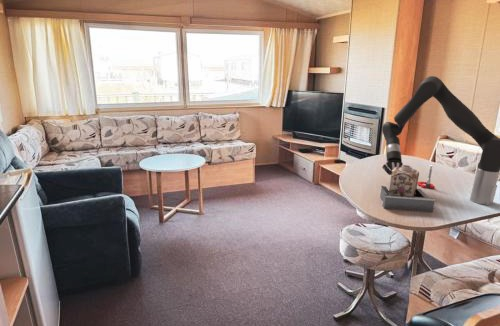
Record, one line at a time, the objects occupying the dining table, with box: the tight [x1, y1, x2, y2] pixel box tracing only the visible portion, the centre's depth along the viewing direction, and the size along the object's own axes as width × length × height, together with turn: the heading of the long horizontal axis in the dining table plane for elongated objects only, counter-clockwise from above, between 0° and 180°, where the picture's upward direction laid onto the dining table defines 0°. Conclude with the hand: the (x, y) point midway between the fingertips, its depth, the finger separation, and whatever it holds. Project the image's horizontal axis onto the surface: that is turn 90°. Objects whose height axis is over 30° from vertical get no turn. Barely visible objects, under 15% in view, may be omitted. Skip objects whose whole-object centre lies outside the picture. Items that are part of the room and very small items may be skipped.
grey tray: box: [379, 185, 436, 213], centre depth 164 cm, size 15×22×7 cm
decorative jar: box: [388, 164, 420, 197], centre depth 168 cm, size 12×12×18 cm
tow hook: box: [417, 165, 435, 189], centre depth 190 cm, size 8×13×9 cm
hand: (395, 181), depth 177 cm, fingers closed
